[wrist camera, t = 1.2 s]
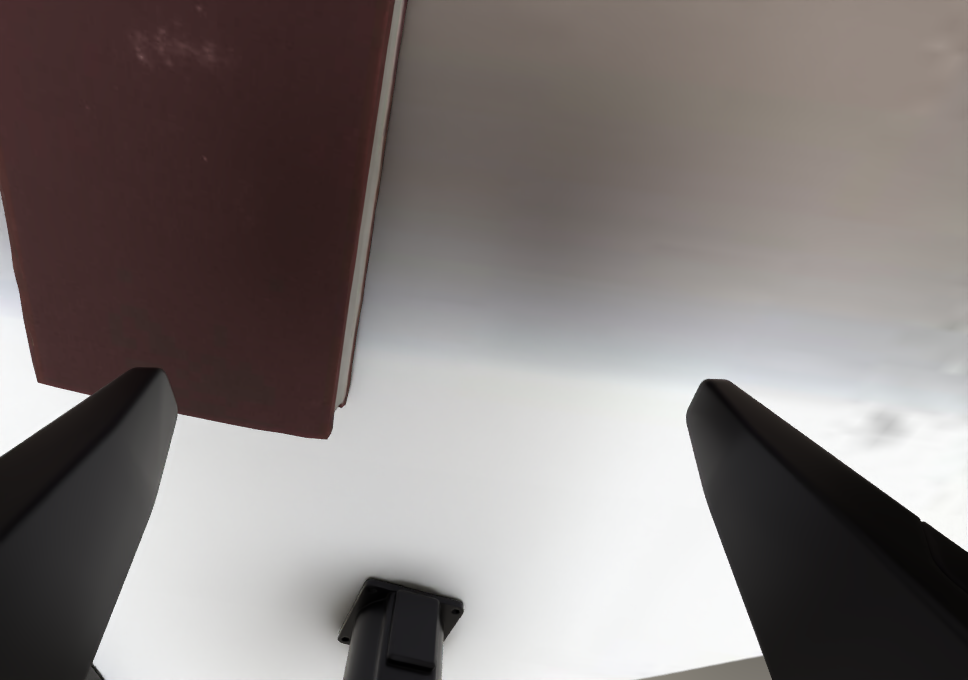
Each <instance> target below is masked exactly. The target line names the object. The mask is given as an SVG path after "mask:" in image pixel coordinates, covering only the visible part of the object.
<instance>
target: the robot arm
mask: <svg viewBox="0 0 968 680" xmlns="http://www.w3.org/2000/svg"><path fill="white" fill-rule="evenodd" d="M177 413H178V409H177V403H176V400H175V397H174V394H173V391H172V388H171V386H170V383H169V380H168V377H167V375H166V373H165V371H164V370H163V369H161V368H157V367H135V368H132V369H130V370H128V371H126V372H125V373H123V374H122V375H120V376H119V377H118V378H116V379H115V380H113V381H112V382H110V383H109V384H107V385H106V386H104V387H103V388H101V389H100V390H98V391H97V392H95V393H94V394H92V395H91V396H90V397H88V398H87V399H85V400H84V401H82V402H81V403H79V404H78V405H76V406H75V407H73V408H72V409H70V410H69V411H67V412H66V413H64V414H63V415H61V416H60V417H59V418H57V419H56V420H54V421H53V422H51V423H50V424H48V425H47V426H45V427H44V428H42V429H41V430H39V431H38V432H36V433H35V434H33V435H32V436H31V437H29V438H28V439H26V440H25V441H23V442H22V443H20V444H19V445H17V446H16V447H14V448H13V449H11V450H10V451H8V452H7V453H5V454H4V455H2V456H1V457H0V680H86V678H87V675H88V673H89V670H90V667H91V665H92V662H93V660H94V657H95V655H96V652H97V650H98V647H99V645H100V642H101V640H102V637H103V634H104V632H105V629H106V627H107V624H108V622H109V619H110V617H111V614H112V612H113V609H114V607H115V604H116V601H117V599H118V596H119V594H120V591H121V589H122V586H123V584H124V581H125V579H126V576H127V574H128V571H129V569H130V566H131V563H132V561H133V558H134V556H135V553H136V551H137V548H138V546H139V543H140V541H141V538H142V536H143V533H144V530H145V528H146V525H147V523H148V520H149V518H150V515H151V512H152V509H153V507H154V503H155V500H156V496H157V493H158V489H159V486H160V482H161V478H162V474H163V470H164V466H165V462H166V459H167V455H168V451H169V447H170V443H171V439H172V435H173V432H174V428H175V424H176V420H177ZM686 423H687V427H688V431H689V435H690V439H691V443H692V447H693V451H694V455H695V459H696V463H697V467H698V471H699V475H700V479H701V483H702V487H703V491H704V494H705V498H706V501H707V504H708V507H709V510H710V512H711V515H712V518H713V521H714V523H715V526H716V529H717V531H718V534H719V537H720V539H721V542H722V545H723V548H724V550H725V553H726V556H727V558H728V561H729V564H730V567H731V569H732V572H733V575H734V577H735V580H736V583H737V586H738V588H739V591H740V594H741V596H742V599H743V602H744V604H745V607H746V610H747V613H748V615H749V618H750V621H751V623H752V626H753V629H754V632H755V634H756V637H757V640H758V642H759V645H760V648H761V650H762V653H763V656H764V659H765V661H766V664H767V667H768V669H769V672H770V675H771V678H772V680H968V552H967V551H965V550H964V549H962V548H961V547H960V546H958V545H957V544H955V543H954V542H952V541H951V540H950V539H948V538H947V537H945V536H944V535H943V534H941V533H940V532H938V531H937V530H936V529H934V528H933V527H932V526H930V525H929V524H927V523H926V522H921V520H920V518H919V517H918V516H916V515H915V514H913V513H912V512H911V511H909V510H908V509H906V508H905V507H904V506H902V505H901V504H900V503H898V502H897V501H895V500H894V499H893V498H891V497H890V496H888V495H887V494H886V493H884V492H883V491H882V490H880V489H879V488H877V487H876V486H875V485H873V484H872V483H870V482H869V481H868V480H866V479H865V478H863V477H862V476H861V475H859V474H858V473H857V472H855V471H854V470H852V469H851V468H850V467H848V466H847V465H845V464H844V463H843V462H841V461H840V460H838V459H837V458H836V457H834V456H833V455H832V454H830V453H829V452H827V451H826V450H825V449H823V448H822V447H820V446H819V445H818V444H816V443H815V442H814V441H812V440H811V439H809V438H808V437H807V436H805V435H804V434H802V433H801V432H800V431H798V430H797V429H795V428H794V427H793V426H791V425H790V424H789V423H787V422H786V421H784V420H783V419H782V418H780V417H779V416H777V415H776V414H775V413H773V412H772V411H771V410H769V409H768V408H766V407H765V406H764V405H762V404H761V403H759V402H758V401H757V400H755V399H754V398H752V397H751V396H750V395H748V394H747V393H746V392H744V391H743V390H741V389H740V388H739V387H737V386H736V385H734V384H733V383H732V382H730V381H728V380H725V379H706V380H704V381H703V382H701V384H700V385H699V387H698V389H697V392H696V394H695V396H694V398H693V400H692V402H691V404H690V406H689V408H688V410H687V414H686ZM463 612H464V605H463V603H462V602H459V601H456V600H452V599H448V598H444V597H440V596H437V595H433V594H429V593H425V592H421V591H417V590H413V589H410V588H406V587H402V586H398V585H394V584H390V583H386V582H383V581H379V580H374V579H370V580H367V581H366V582H365V583H364V585H363V587H362V589H361V591H360V593H359V595H358V597H357V599H356V601H355V603H354V605H353V606H352V608H351V610H350V612H349V614H348V616H347V618H346V620H345V622H344V624H343V626H342V628H341V629H340V631H339V636H338V641H339V642H341V643H344V644H348V645H350V647H349V652H348V657H347V662H346V667H345V672H344V677H343V680H441V676H442V657H443V642H444V640H445V639H446V637H447V636H448V634H449V633H450V631H451V630H452V629H453V627H454V626H455V624H456V623H457V621H458V620H459V618H460V617H461V616H462V614H463Z"/></svg>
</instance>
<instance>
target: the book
mask: <svg viewBox="0 0 968 680" xmlns="http://www.w3.org/2000/svg"><path fill="white" fill-rule="evenodd" d="M407 2H408V0H0V192H1V196H2V201H3V207H4V212H5V217H6V222H7V228H8V234H9V240H10V246H11V253H12V261H13V269H14V273H15V277H16V281H17V285H18V288H19V293H20V300H21V306H22V312H23V319H24V324H25V329H26V333H27V338H28V343H29V348H30V353H31V357H32V362H33V366H34V370H35V374H36V378H37V381H38V383H42V384H46V385H49V386H53V387H57V388H62V389H66V390H70V391H75V392H79V393H83V394H88V395H92V394H94V393H95V392H97V391H98V390H100V389H101V388H103V387H104V386H106V385H107V384H109V383H110V382H112V381H113V380H115V379H116V378H118V377H119V376H120V375H122V374H123V373H125V372H126V371H128V370H130V369H132V368H135V367H157V368H161V369H163V370H164V371H165V373H166V375H167V377H168V380H169V383H170V386H171V388H172V391H173V394H174V397H175V400H176V403H177V409H178V413H177V414H182V415H187V416H192V417H197V418H202V419H207V420H212V421H217V422H222V423H226V424H231V425H237V426H242V427H247V428H252V429H257V430H264V431H271V432H278V433H284V434H289V435H294V436H300V437H305V438H315V439H328V437H329V436H330V434H331V431H332V428H333V420H334V412H335V410H336V409H337V407H340V408H342V407H343V406H344V405H345V404H346V401H347V396H348V391H349V387H350V381H351V372H352V363H353V356H354V350H355V343H356V337H357V330H358V324H359V317H360V311H361V306H362V301H363V294H364V287H365V279H366V273H367V266H368V260H369V253H370V247H371V240H372V233H373V225H374V216H375V209H376V204H377V199H378V193H379V186H380V179H381V172H382V165H383V158H384V151H385V144H386V137H387V130H388V124H389V117H390V111H391V104H392V97H393V91H394V84H395V77H396V70H397V63H398V56H399V50H400V44H401V37H402V31H403V25H404V19H405V13H406V8H407Z"/></svg>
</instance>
